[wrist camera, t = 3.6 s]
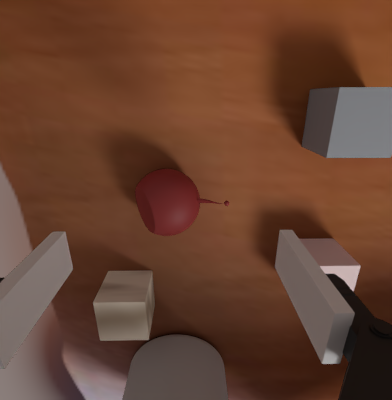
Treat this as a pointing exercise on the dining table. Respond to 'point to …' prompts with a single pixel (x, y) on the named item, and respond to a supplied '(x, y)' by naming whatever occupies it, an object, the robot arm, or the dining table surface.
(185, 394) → the cylinder vase
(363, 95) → the slate grey block
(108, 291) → the birch block
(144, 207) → the fruit
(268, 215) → the dining table surface
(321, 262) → the dusty rose block
